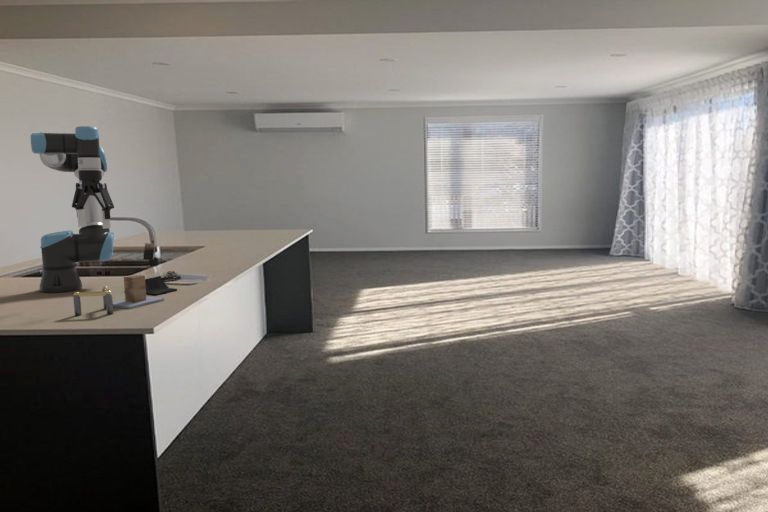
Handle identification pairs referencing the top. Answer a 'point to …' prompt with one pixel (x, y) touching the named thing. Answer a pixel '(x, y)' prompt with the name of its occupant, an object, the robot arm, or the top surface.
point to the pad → (133, 305)
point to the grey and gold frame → (106, 295)
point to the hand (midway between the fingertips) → (94, 227)
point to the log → (170, 276)
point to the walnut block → (135, 288)
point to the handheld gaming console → (157, 286)
